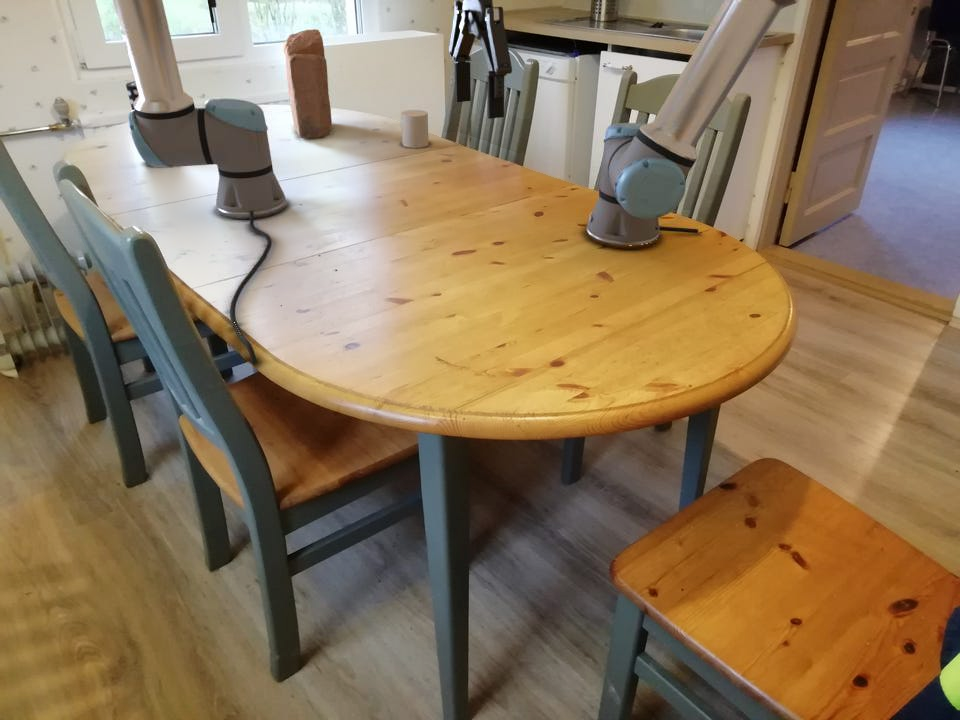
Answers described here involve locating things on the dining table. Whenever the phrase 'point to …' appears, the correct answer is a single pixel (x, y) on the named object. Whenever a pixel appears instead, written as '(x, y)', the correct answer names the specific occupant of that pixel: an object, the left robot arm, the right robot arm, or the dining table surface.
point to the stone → (308, 83)
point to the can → (414, 128)
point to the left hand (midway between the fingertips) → (184, 23)
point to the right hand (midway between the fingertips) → (478, 109)
